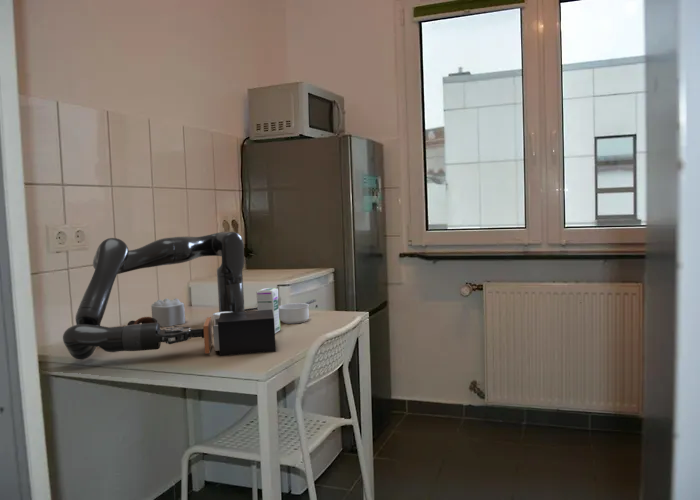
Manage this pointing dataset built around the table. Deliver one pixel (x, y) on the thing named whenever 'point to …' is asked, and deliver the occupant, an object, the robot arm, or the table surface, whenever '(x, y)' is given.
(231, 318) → the small drawer unit
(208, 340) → the orange pull-out drawer
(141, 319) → the brown hollow curved piece
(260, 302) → the syrup box
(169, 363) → the table surface
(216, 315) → the white tapered cup
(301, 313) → the saucepan
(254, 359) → the table surface
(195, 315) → the table surface
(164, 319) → the lumpy-topped squat cylinder
